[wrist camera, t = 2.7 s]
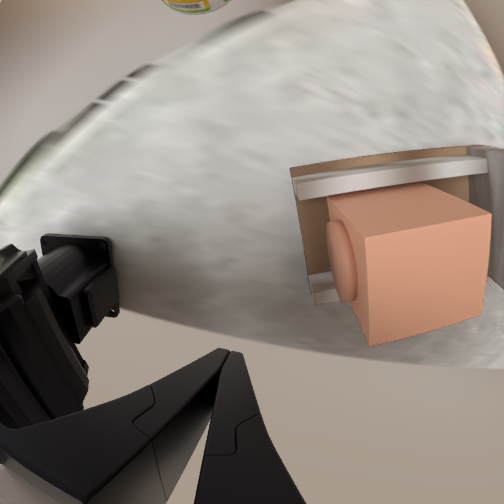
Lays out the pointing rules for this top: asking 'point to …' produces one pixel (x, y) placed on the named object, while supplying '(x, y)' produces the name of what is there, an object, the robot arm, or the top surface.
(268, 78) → the top surface
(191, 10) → the supplement bottle
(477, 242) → the peach knobbed cube
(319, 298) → the rail
